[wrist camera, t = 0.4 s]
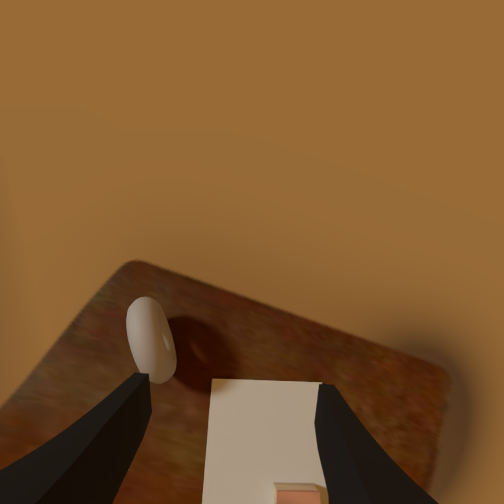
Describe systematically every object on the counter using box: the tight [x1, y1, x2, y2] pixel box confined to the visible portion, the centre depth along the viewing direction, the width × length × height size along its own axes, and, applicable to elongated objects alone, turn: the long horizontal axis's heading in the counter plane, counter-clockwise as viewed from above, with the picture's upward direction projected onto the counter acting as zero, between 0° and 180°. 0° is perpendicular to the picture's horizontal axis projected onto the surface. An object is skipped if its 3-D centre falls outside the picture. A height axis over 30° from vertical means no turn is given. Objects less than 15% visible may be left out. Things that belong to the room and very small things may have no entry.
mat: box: [202, 379, 329, 504], centre depth 34 cm, size 20×14×1 cm
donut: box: [126, 297, 177, 384], centre depth 34 cm, size 10×3×10 cm, turn 21°
